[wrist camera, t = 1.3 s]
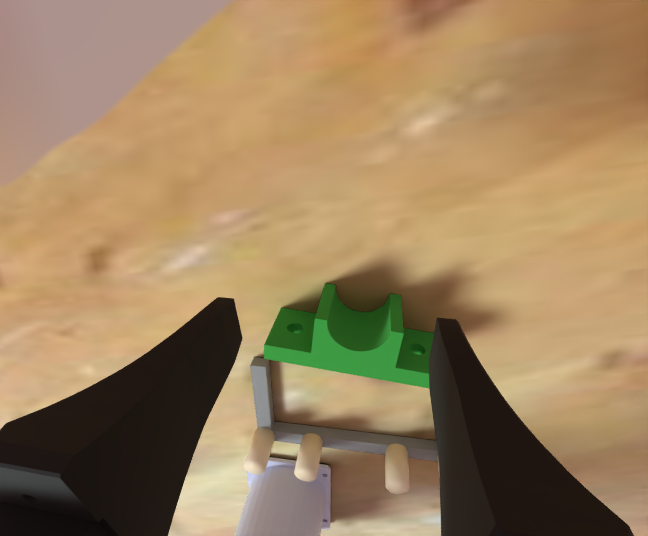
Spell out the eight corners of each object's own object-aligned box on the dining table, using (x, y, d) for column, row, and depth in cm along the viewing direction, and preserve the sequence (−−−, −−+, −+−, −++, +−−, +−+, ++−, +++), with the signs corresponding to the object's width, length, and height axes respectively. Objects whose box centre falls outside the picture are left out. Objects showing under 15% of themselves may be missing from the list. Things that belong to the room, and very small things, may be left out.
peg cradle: (455, 455, 31) (464, 503, 28) (259, 431, 33) (244, 472, 30) (473, 378, 27) (487, 422, 24) (250, 356, 30) (232, 394, 26)
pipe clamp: (444, 300, 25) (457, 342, 21) (431, 343, 27) (441, 390, 23) (282, 275, 26) (264, 311, 22) (280, 319, 28) (263, 360, 24)
